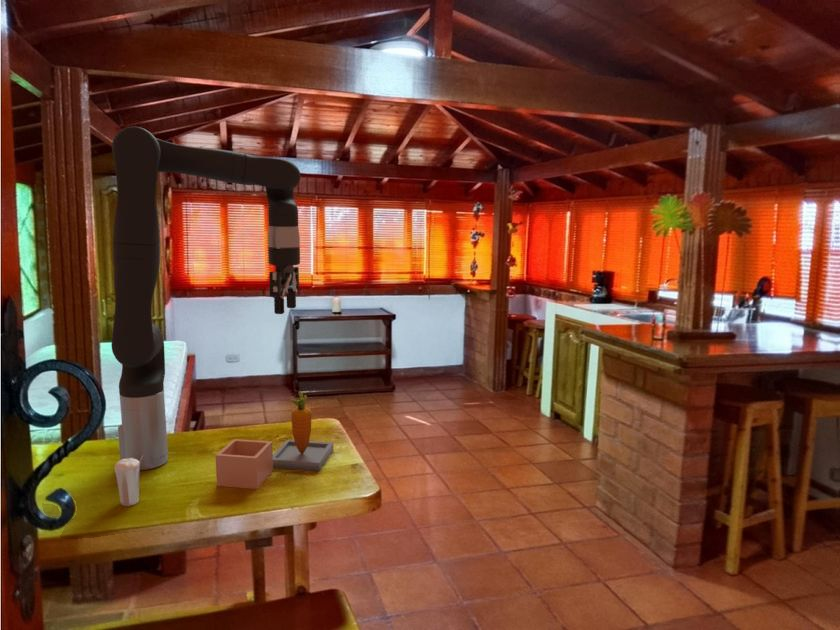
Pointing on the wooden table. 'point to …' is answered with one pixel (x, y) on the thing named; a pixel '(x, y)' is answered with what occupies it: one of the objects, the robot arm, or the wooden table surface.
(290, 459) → the tray
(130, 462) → the milkshake
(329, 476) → the wooden table surface
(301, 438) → the carrot
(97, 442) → the wooden table surface
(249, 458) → the box
